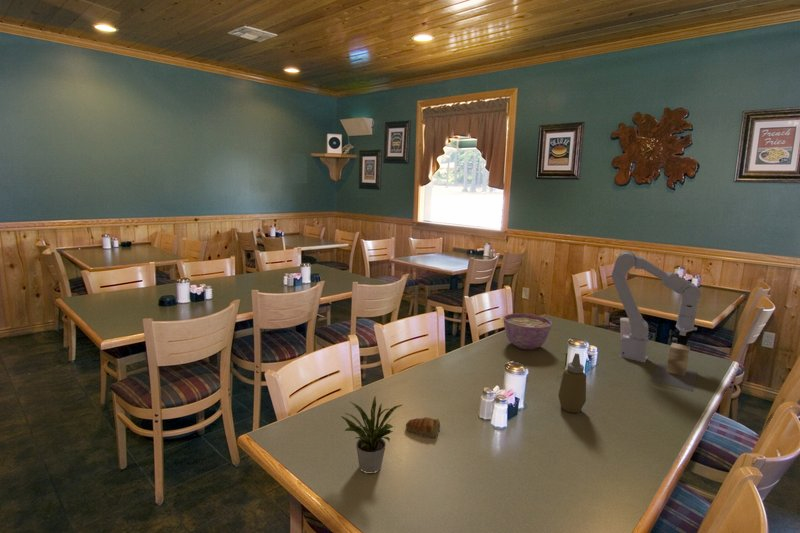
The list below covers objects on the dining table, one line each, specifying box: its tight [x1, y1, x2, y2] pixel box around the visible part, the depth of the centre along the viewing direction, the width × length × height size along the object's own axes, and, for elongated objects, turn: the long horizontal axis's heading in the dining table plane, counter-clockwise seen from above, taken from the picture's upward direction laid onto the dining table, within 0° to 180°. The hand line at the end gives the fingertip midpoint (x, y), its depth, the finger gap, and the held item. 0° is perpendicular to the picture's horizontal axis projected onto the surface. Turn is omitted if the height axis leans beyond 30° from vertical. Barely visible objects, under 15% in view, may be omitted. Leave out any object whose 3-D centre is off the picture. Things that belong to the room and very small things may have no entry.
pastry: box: [405, 416, 441, 439], centre depth 126 cm, size 9×7×4 cm
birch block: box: [666, 342, 691, 376], centre depth 172 cm, size 6×6×10 cm
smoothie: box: [619, 317, 631, 341], centre depth 207 cm, size 6×6×14 cm
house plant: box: [340, 395, 403, 472], centre depth 108 cm, size 14×14×16 cm
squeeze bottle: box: [558, 353, 587, 414], centre depth 140 cm, size 8×8×18 cm
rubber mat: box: [649, 362, 698, 392], centre depth 168 cm, size 13×21×1 cm, turn 144°
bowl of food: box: [503, 313, 553, 350], centre depth 194 cm, size 20×20×12 cm
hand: (681, 348), depth 178 cm, fingers closed
